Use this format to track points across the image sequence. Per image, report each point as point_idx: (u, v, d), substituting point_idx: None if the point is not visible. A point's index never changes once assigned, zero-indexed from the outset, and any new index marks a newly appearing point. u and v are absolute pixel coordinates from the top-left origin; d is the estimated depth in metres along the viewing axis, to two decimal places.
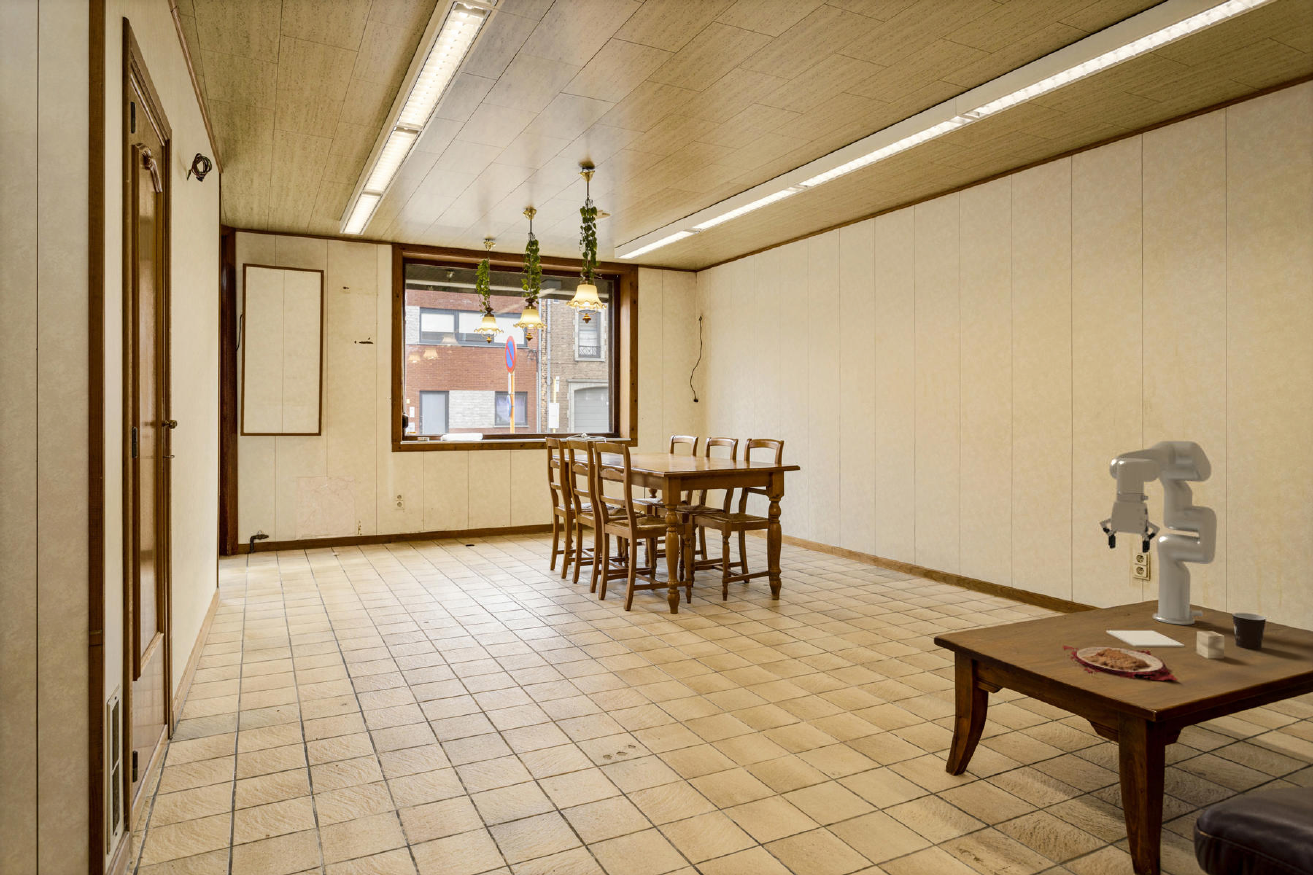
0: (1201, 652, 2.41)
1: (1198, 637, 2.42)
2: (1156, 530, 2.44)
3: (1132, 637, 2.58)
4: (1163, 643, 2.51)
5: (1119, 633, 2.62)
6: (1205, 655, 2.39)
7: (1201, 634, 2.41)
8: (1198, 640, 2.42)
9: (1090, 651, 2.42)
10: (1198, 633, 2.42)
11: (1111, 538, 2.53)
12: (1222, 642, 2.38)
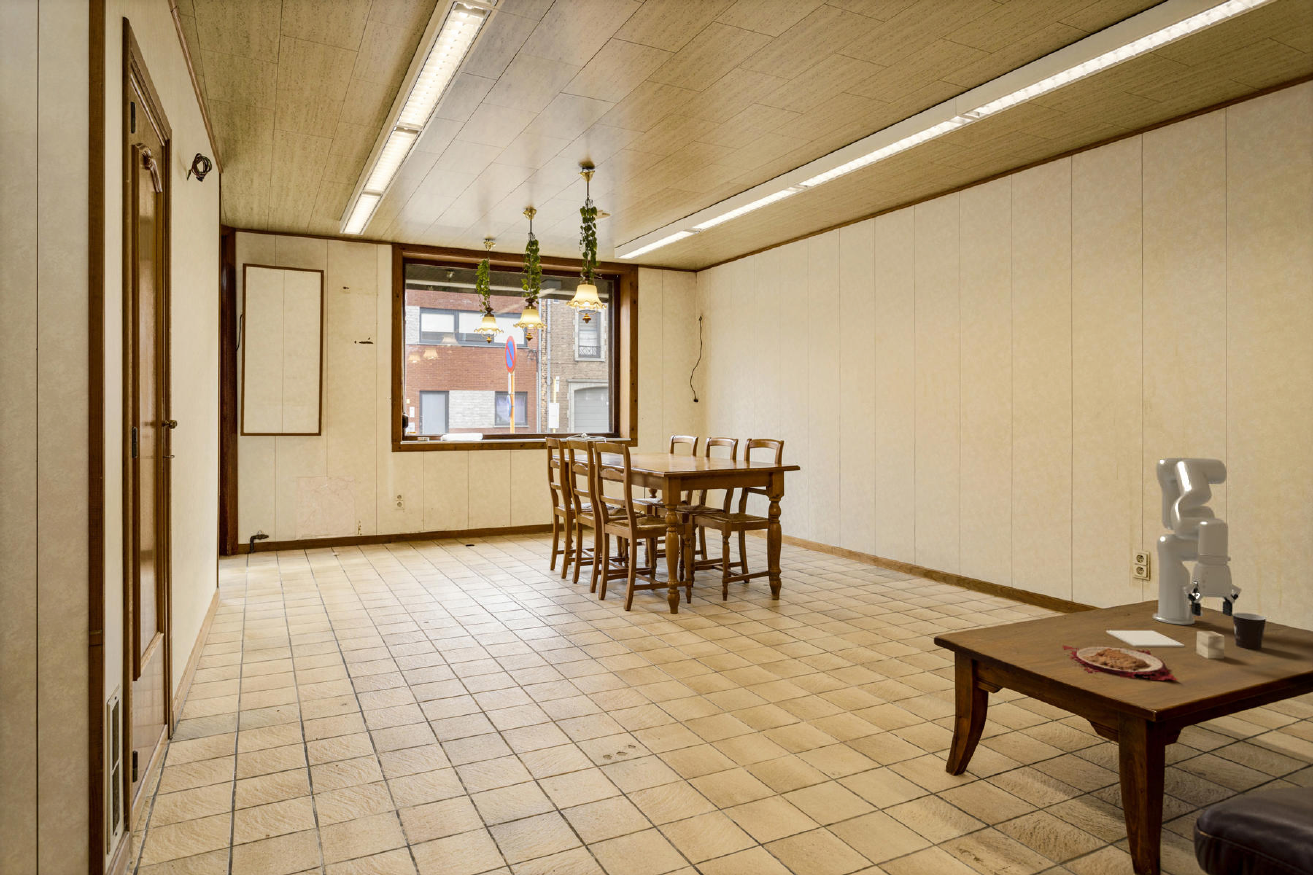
0: (1201, 652, 2.41)
1: (1198, 637, 2.42)
2: (1239, 591, 2.39)
3: (1132, 637, 2.58)
4: (1163, 643, 2.51)
5: (1119, 633, 2.62)
6: (1205, 655, 2.39)
7: (1201, 634, 2.41)
8: (1198, 640, 2.42)
9: (1089, 651, 2.42)
10: (1198, 633, 2.42)
11: (1200, 605, 2.38)
12: (1222, 642, 2.38)
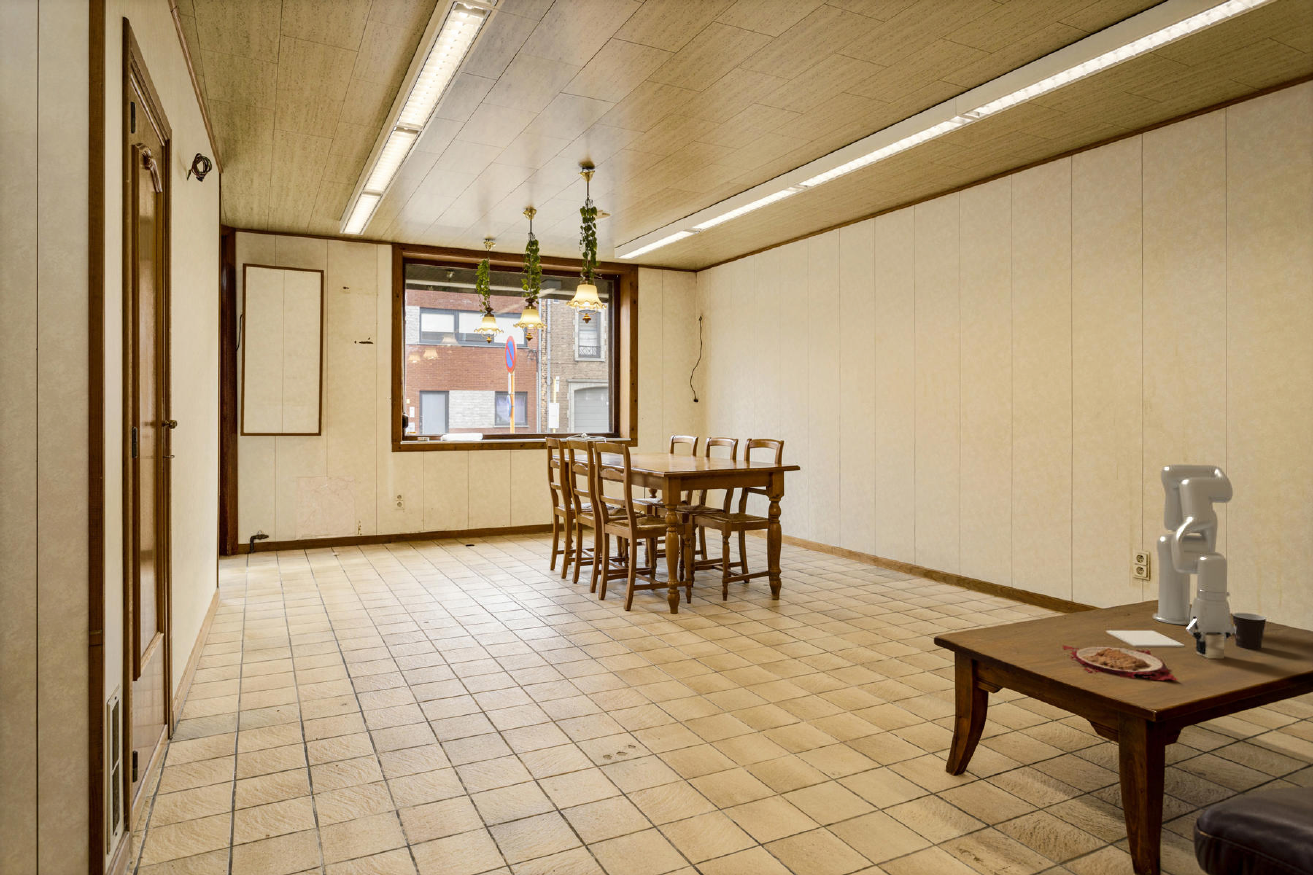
0: None
1: None
2: (1233, 631, 2.39)
3: (1132, 637, 2.58)
4: (1163, 643, 2.51)
5: (1119, 633, 2.62)
6: (1205, 655, 2.39)
7: None
8: None
9: (1089, 651, 2.42)
10: None
11: (1205, 643, 2.39)
12: (1222, 642, 2.38)
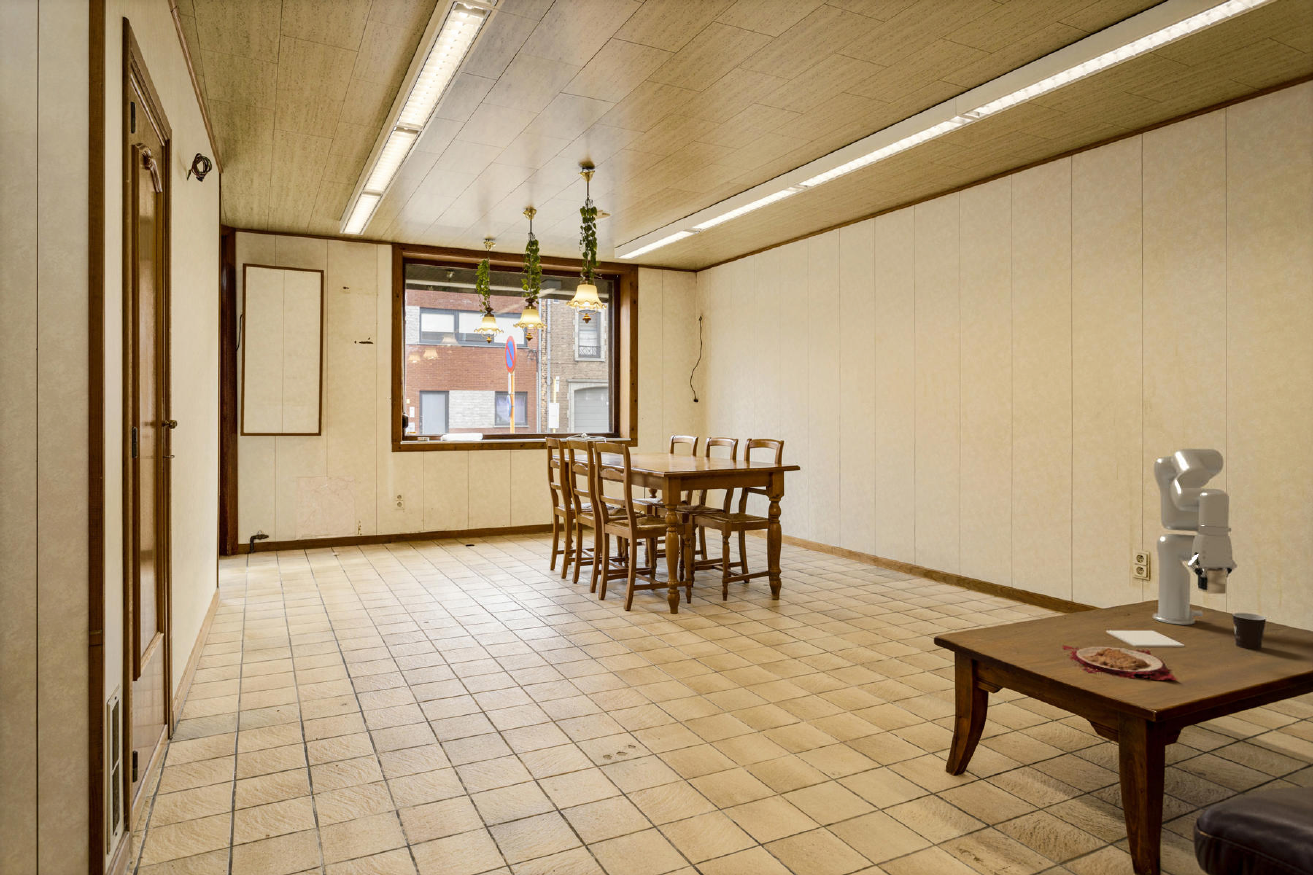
0: None
1: None
2: (1234, 567, 2.39)
3: (1132, 637, 2.58)
4: (1163, 643, 2.51)
5: (1119, 633, 2.62)
6: (1207, 590, 2.38)
7: None
8: None
9: (1089, 650, 2.42)
10: None
11: (1206, 579, 2.38)
12: (1224, 577, 2.37)
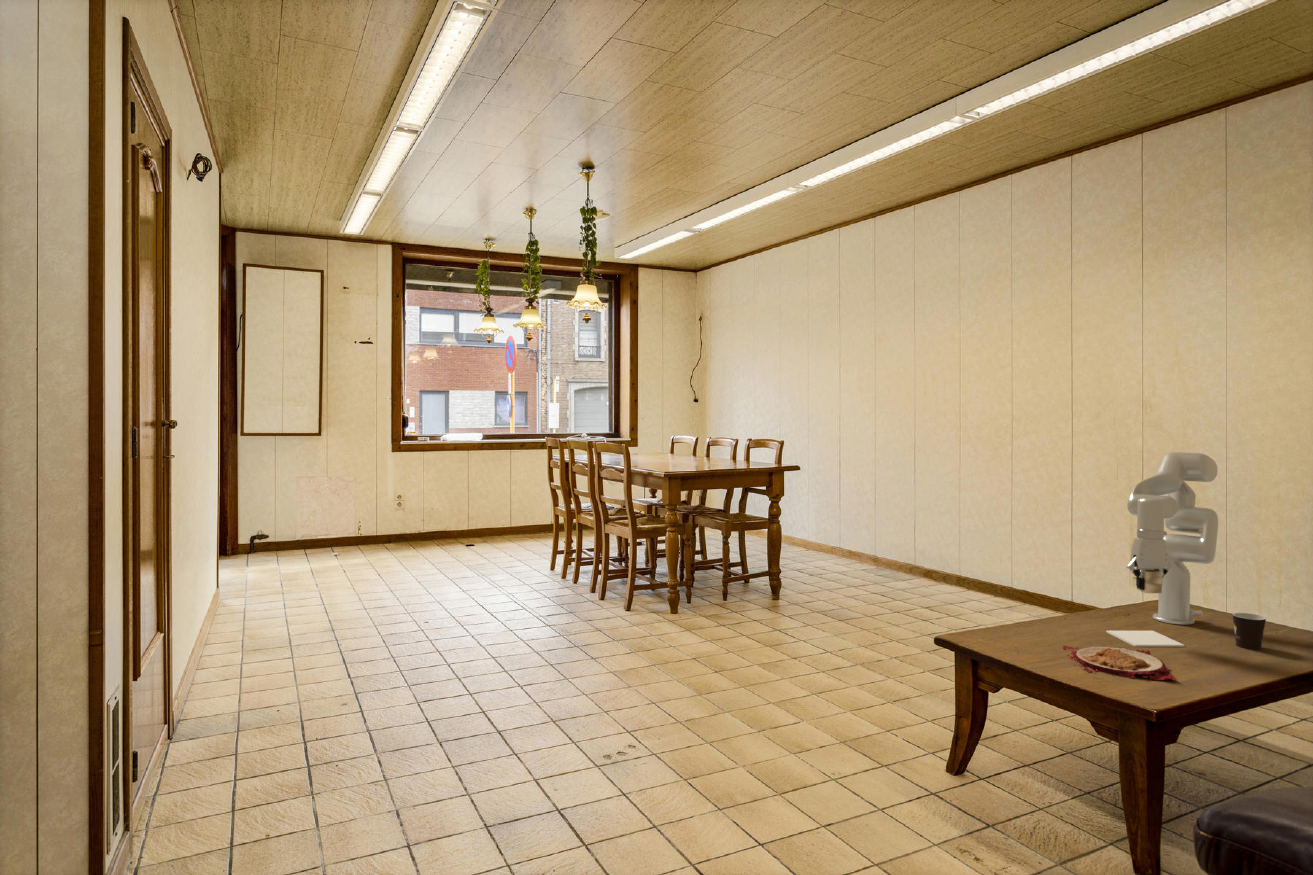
0: None
1: None
2: (1170, 568, 2.55)
3: (1132, 637, 2.58)
4: (1163, 643, 2.51)
5: (1119, 633, 2.62)
6: (1144, 590, 2.54)
7: None
8: None
9: (1089, 650, 2.42)
10: None
11: (1144, 579, 2.54)
12: (1160, 578, 2.53)
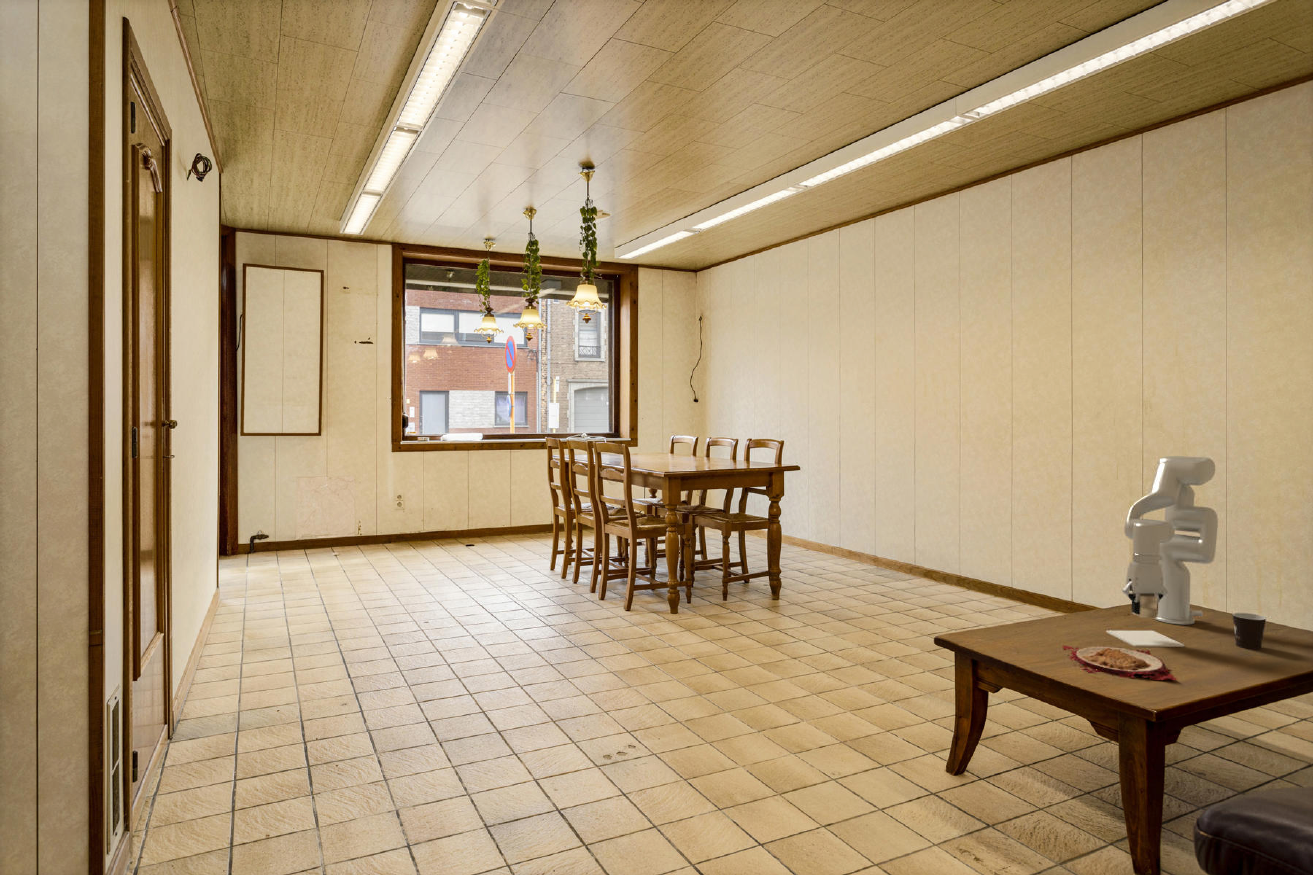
0: None
1: None
2: (1165, 593, 2.56)
3: (1132, 637, 2.58)
4: (1163, 643, 2.51)
5: (1119, 633, 2.62)
6: (1139, 615, 2.55)
7: None
8: None
9: (1089, 650, 2.42)
10: None
11: (1139, 604, 2.55)
12: (1155, 602, 2.54)
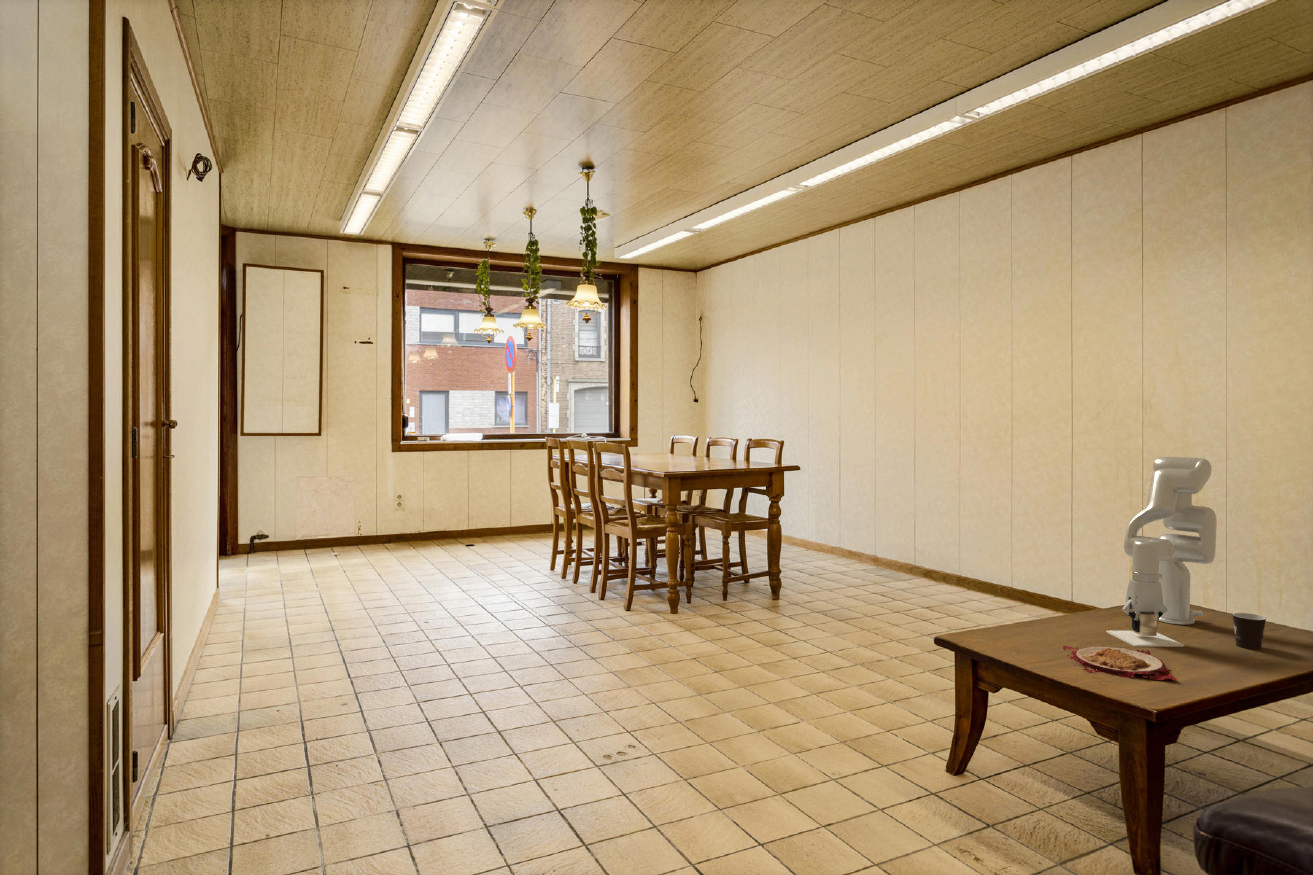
0: None
1: None
2: (1165, 611, 2.56)
3: (1132, 637, 2.58)
4: (1163, 643, 2.51)
5: (1119, 633, 2.62)
6: (1139, 633, 2.56)
7: None
8: None
9: (1089, 650, 2.42)
10: None
11: (1139, 622, 2.56)
12: (1155, 621, 2.55)
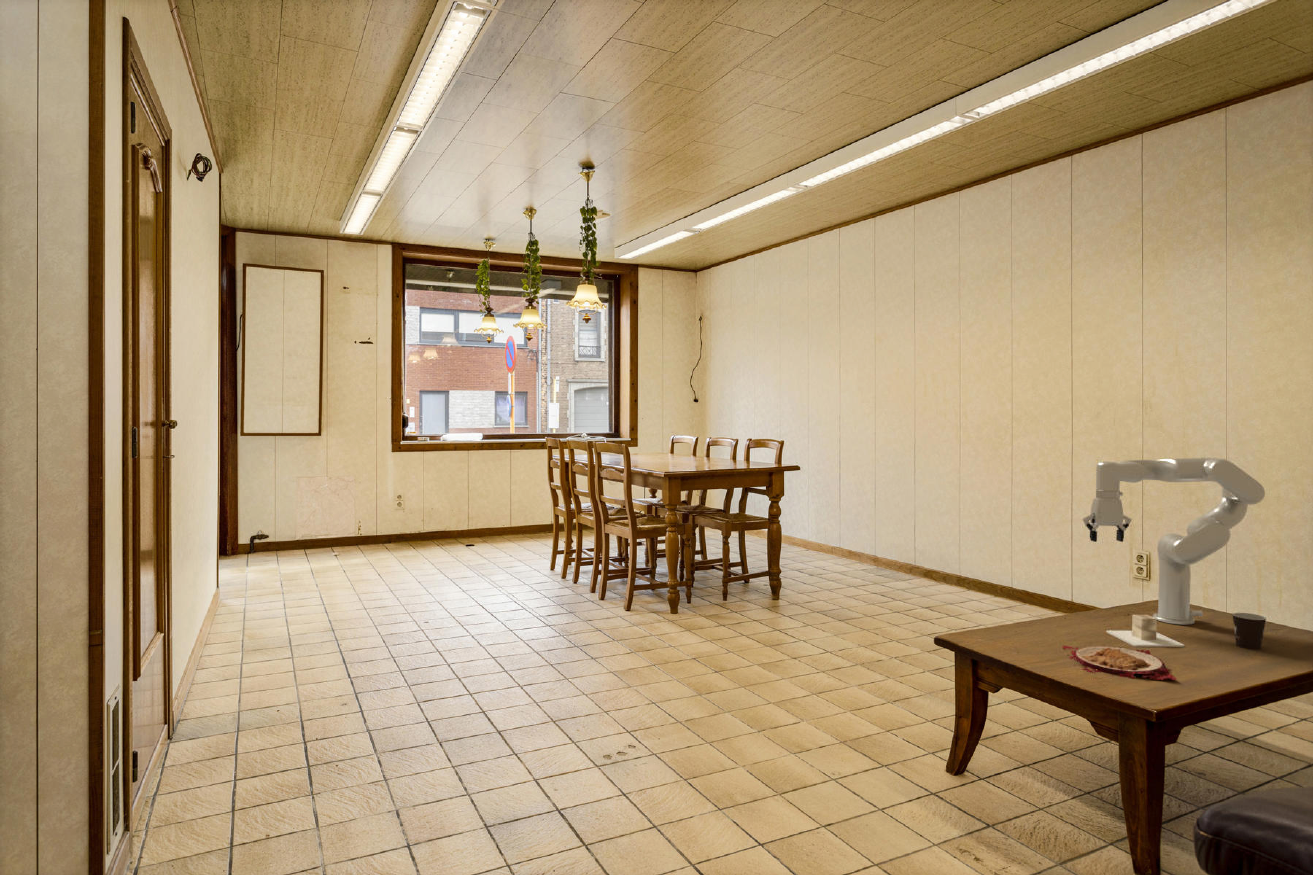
0: (1136, 634, 2.58)
1: (1133, 620, 2.59)
2: (1129, 521, 2.83)
3: (1132, 637, 2.58)
4: (1163, 643, 2.51)
5: (1119, 633, 2.62)
6: (1139, 637, 2.56)
7: (1136, 617, 2.58)
8: (1133, 623, 2.59)
9: (1089, 650, 2.42)
10: (1133, 616, 2.59)
11: (1096, 532, 2.83)
12: (1154, 624, 2.55)
